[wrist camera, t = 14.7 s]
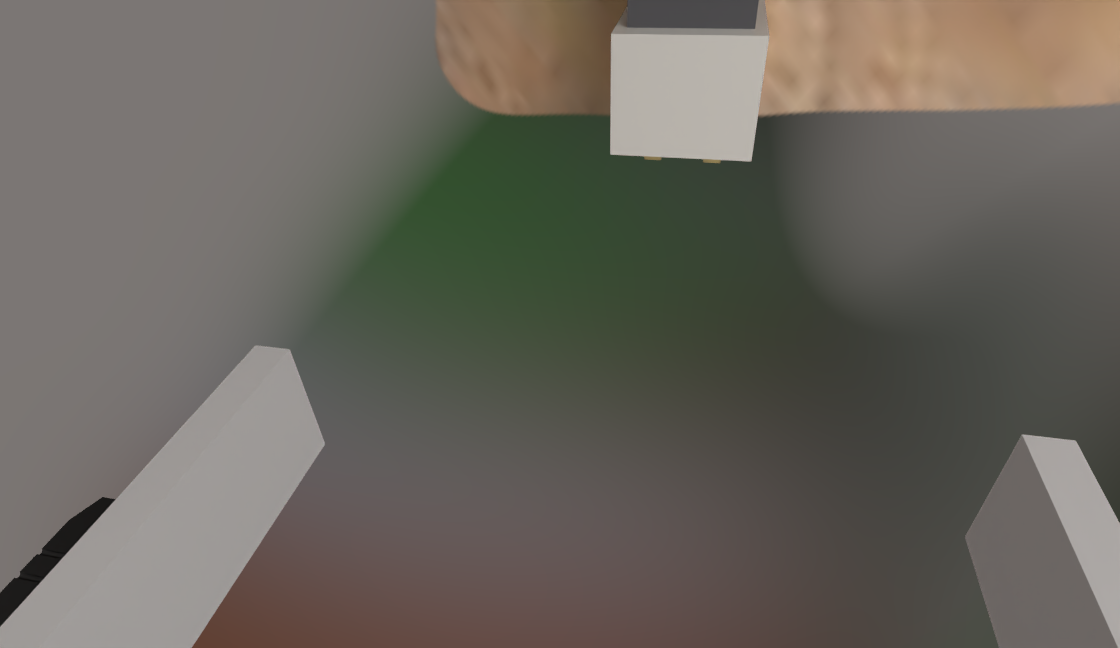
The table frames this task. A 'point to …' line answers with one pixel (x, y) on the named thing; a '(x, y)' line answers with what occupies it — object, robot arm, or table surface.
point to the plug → (687, 78)
